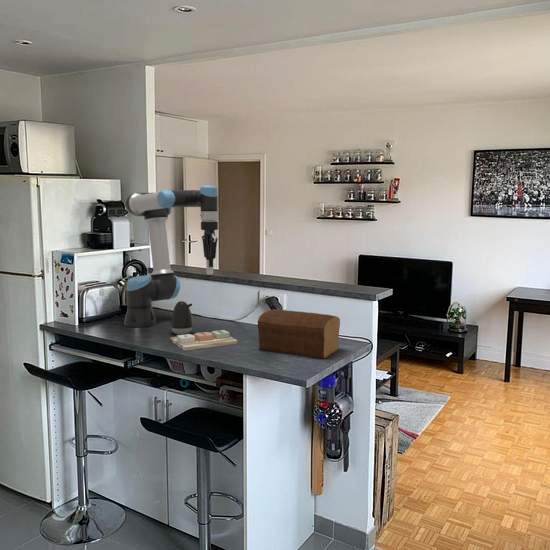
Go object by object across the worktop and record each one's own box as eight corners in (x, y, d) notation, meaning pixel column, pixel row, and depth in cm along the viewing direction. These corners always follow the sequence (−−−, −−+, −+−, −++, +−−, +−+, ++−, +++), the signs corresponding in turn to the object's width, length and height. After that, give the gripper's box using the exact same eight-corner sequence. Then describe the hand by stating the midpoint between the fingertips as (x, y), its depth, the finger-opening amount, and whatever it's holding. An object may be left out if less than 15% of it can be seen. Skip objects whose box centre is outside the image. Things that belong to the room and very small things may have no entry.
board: (170, 340, 253) (170, 337, 253) (221, 334, 264) (220, 331, 264) (184, 350, 237) (184, 347, 237) (237, 343, 249) (237, 340, 248)
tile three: (211, 337, 256) (211, 331, 255) (224, 335, 259) (224, 329, 258) (216, 340, 250) (216, 334, 250) (229, 338, 253) (229, 332, 253)
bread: (323, 360, 225) (324, 320, 223) (256, 350, 239) (256, 312, 236) (340, 349, 241) (341, 311, 238) (276, 340, 255) (277, 304, 252)
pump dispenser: (187, 337, 260) (186, 303, 257) (166, 335, 263) (166, 302, 261) (197, 332, 269) (197, 299, 267) (177, 330, 272) (177, 298, 270)
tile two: (194, 339, 252) (194, 333, 252) (207, 337, 255) (207, 331, 254) (199, 342, 247) (199, 336, 246) (212, 340, 250) (212, 334, 249)
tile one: (177, 341, 248) (176, 335, 248) (190, 340, 251) (190, 333, 251) (181, 344, 243) (181, 338, 243) (195, 343, 246) (195, 336, 245)
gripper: (196, 220, 258) (196, 272, 262) (206, 221, 247) (207, 276, 250) (211, 220, 262) (212, 271, 265) (223, 221, 251) (223, 275, 254)
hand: (210, 273), depth 258 cm, fingers closed
